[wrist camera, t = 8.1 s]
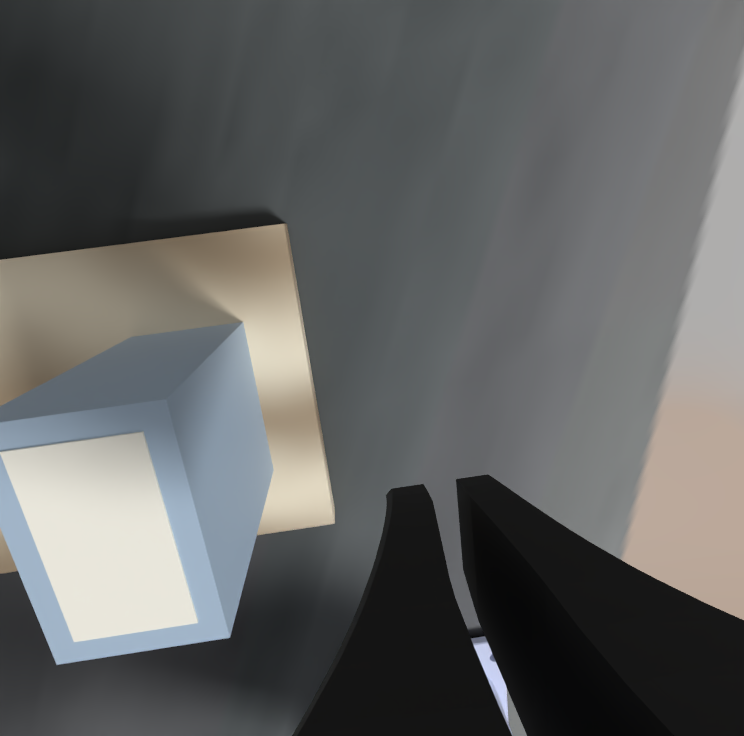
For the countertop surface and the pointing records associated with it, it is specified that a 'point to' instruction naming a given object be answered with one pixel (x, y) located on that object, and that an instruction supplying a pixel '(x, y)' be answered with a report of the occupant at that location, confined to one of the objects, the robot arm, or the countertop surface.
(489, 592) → the robot arm
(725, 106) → the countertop surface
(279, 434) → the board
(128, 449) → the slab
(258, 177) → the countertop surface
